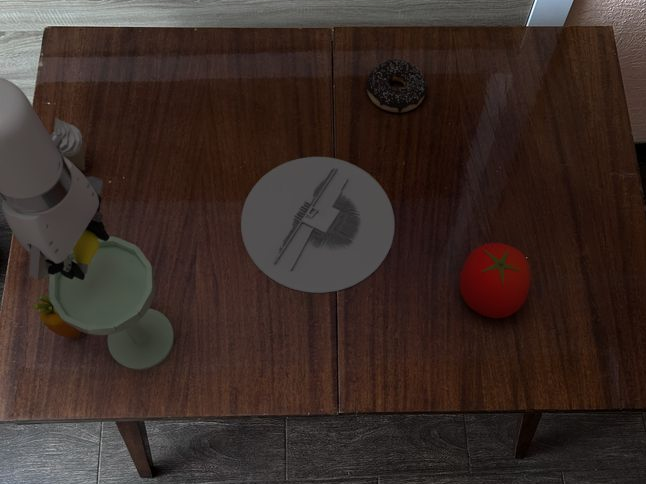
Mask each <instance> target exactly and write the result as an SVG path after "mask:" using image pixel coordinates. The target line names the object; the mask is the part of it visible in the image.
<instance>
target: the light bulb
mask: <svg viewBox="0 0 646 484" xmlns="http://www.w3.org/2000/svg"><path fill="white" fill-rule="evenodd" d="M98 248H99V241H98V238H97V236H96V235H95V234H94V233H93V232H91V231H89V230H85V231H84V232H83V234H82V235H81V237H80V238H79V240H78V242H77V243H76V245H75V246H74V248H73V252H74V254H75V261H76V262H77V265H78V266H79V267H80V269H81V270H82V271H83V273H84V274H87V270H88V265H89V264H90V263H91V260H92V258H93V257H94V255H95V254H96V252H97V251H98Z"/></svg>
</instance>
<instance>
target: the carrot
mask: <svg viewBox="0 0 646 484" xmlns="http://www.w3.org/2000/svg"><path fill="white" fill-rule="evenodd" d="M38 300H39V301H41V303H40V302H38V303H34V304H33V308H34V310H39V311H38V315H39V317H40V319H41V321H42V324H43V325H44V326H46V327H47V328H48V330H50V331H51V332H52V333H54V334H56V335H59V336H61V337H64V338H69V339H75V338H77V337H79V336H80V333H81V331H79V330H77V329H75V328H74V327H72V326H71V325H69V324H66V322H64V321H63V320H62V319H61V317H60V315H59V314H58V312H57V311H56V309H55V308H54V306H53V305H52V303H51V302H50V300H49V297H47V296H45V295H39V297H38Z"/></svg>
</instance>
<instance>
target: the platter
mask: <svg viewBox="0 0 646 484" xmlns="http://www.w3.org/2000/svg"><path fill="white" fill-rule="evenodd" d="M109 237H110V238H109V239H108V241H103V240H101V239H98V241H99V248H98V251H97V252H96V254H95V255H94V257H93V258H92V260H91V263H90V264H89V265H88V270H87V274H85V278H84V280H81V279H78V278H76V277H74V278H73V279H69V278H67V277H65V276H63V275H62V274H61V273H60V272H58V273H56V274H54V275H51V274H49V275H48V278H49V279H48V298H49V300H50V302H51V303H52V305H53V306H54V308H55V309H56V311H57V312H58V314H59V315H60V317H61V319H62V320H63V321H64V322H66V324H69V325H71V326H72V327H74V328H75V329H77V330H79V331H80V333H84V334H89V335H94V336H108V334H114V333H117V332H120V331H123V330H125V329H127V328H129V327H131V326H132V325H134V324H135V323H137V322H138V321H139V320H140V319H141V318H142V317H143V316H144V315H145V314H146V312H147V311H148V309H149V308H150V307H151V306H152V303H153V301H154V299H155V296H156V295H155V294H156V286H157V285H156V283H157V282H156V277H155V270H154V267H153V266H152V264H151V263H150V261H149V259H148V258H147V257H146V255H145V254H144V253H143V251H142V249H141V248H140V247H139V246H138V245H137V244H134V243H131V242H129V241H127V240H124V239H122V238H121V237H120V238H119V237H117V236H109ZM70 259H71V261H73V262H75V263H77V262H76V261H75V254H74V252H73V249H72V251H71V252H70Z"/></svg>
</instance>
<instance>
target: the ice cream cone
mask: <svg viewBox="0 0 646 484" xmlns="http://www.w3.org/2000/svg"><path fill="white" fill-rule="evenodd" d="M54 118H55V119H54V125H53V128H54V131H53V132H52V133H51V134H55V135H57V136H58V137H60V138H61V139H62V143H61V145H60V153H61V154H62V156H64V157H65V158H67V159H68V160H69V161H70V162H71V163H72V164H74V165H75V166H76V167H77V168H78V169H79V170H80V171H81V170H82V171H83V172H84V171H86V163H85V161H86V160H85V150H84V145H85V141H84V138H83V134H82V133H81V131H80V129H79V128H77V127H76V126H75V125H74V124H69V123H67V122H66V121H64V120H62V119H59V118H58V117H57V116H55V117H54Z"/></svg>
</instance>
